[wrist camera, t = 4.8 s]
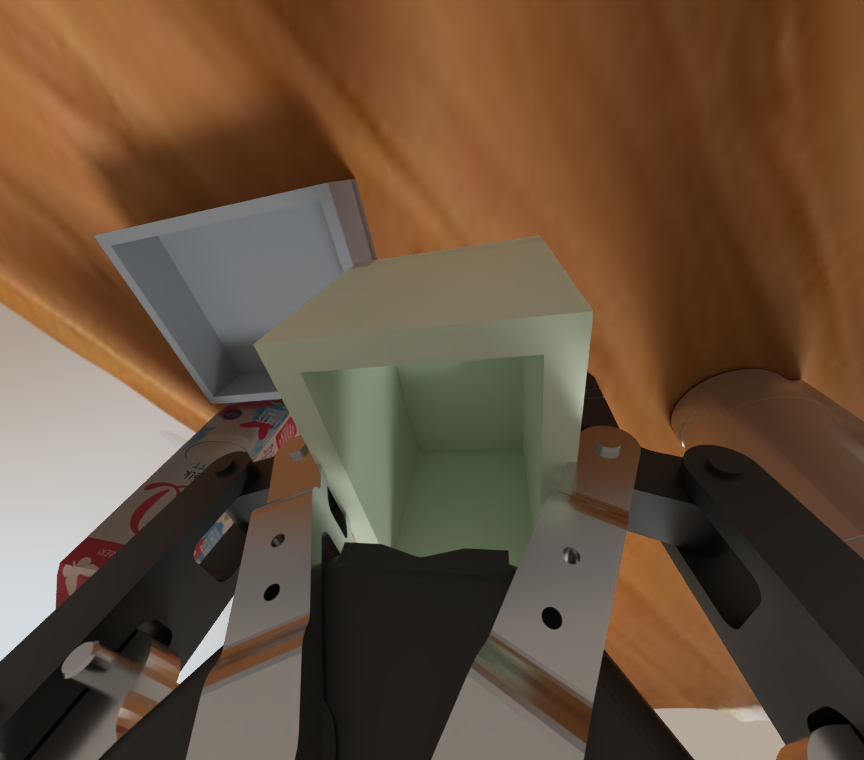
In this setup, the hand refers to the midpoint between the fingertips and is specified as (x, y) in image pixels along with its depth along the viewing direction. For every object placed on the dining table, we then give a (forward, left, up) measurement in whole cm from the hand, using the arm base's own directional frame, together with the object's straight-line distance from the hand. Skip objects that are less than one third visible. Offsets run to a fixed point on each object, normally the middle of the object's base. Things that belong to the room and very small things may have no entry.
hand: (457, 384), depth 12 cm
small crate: (0, 0, -1) cm, 1 cm away
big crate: (+16, 0, -16) cm, 23 cm away
